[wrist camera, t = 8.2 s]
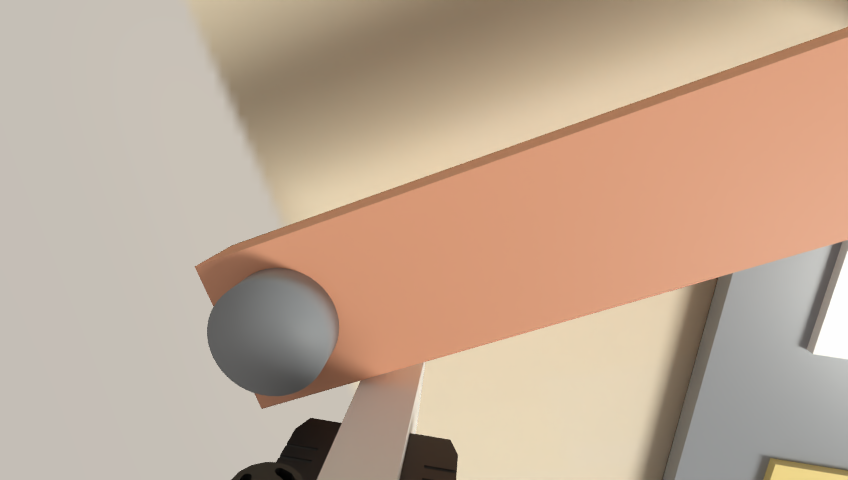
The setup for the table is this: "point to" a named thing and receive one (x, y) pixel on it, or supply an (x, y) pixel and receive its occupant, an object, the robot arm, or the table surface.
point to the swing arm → (544, 229)
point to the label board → (770, 376)
